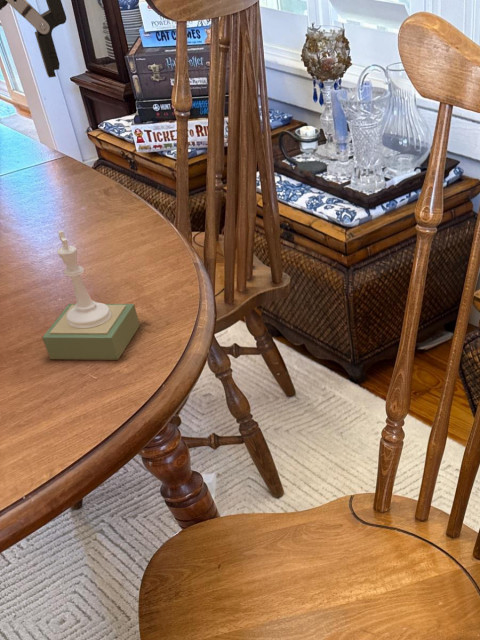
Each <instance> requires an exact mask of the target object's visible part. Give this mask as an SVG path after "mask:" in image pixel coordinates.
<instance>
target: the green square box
mask: <svg viewBox="0 0 480 640" xmlns="http://www.w3.org/2000/svg"><path fill="white" fill-rule="evenodd" d="M76 304H77V303H68V304H67V306H66V307H65V308H64V310H63V311H62V312H61V313H60V315H58V317H57V319H55V321H54V322H53V323H52V325H50V327H49V328H48V329H47V331H46V332H45V333H44V334H43V336H42V337H41V339H42V341H43V343H44V346H45V348H46V352H47V354H48V356H49V359H50V360H83V361H84V360H90V361H91V360H94V361H96V360H97V361H99V360H101V361H104V360H107V361H119V359H120V358H121V356H122V355H123V353H124V352H125V350H126V349H127V346H128V345H129V344H130V342H131V340H132V339H133V337H134V336H135V334H136V333H137V331H138V329H139V328H140V326H141V323H140V319H139V316H138V312H137V310H136V306H135V304H134V303H104V304H105V305H107V306H108V307H109V309H110V311H111V313H112V315H111V317H110V319H109V320H108V321H106V322H105V323H103V324H101V325H98V326H95V327H91V328H74V327H72V326H70V325H69V324H68V323H67V318H66V315H67V313H68V312H69V310H71V309H72V308H74V307H75V305H76Z"/></svg>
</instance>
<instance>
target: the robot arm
mask: <svg viewBox="0 0 480 640" xmlns="http://www.w3.org/2000/svg"><path fill="white" fill-rule="evenodd" d="M45 2H46V4H47V8H48V10H46V11H45V12H43V13H40V12H38V10H37V9H36V8H34V7H33V6H32V5H31V4H30V2H28V1H27V0H0V11H2V10H3V8H5V7H6V6H7V5H8V4H9V5H10V6H11V7H12V8H13V9H14V10H15V11H16V12H17V13H18V14H19V15H20V16H21V17H23V18H24V19H25V20H26V21H27V22H28V23H29V24H30V25H31V26H32V27H33V28H34V29H35V31H34V35H35V38H36V39H35V40H36V42H37V45H38V46H37V47H38V49H39V52H40V56H41V59H42V63H43V66H44V69H45V72H46V75H47V77H48V78H55V77H57V75H56V71H58V70H60V61H59V57H58V53H57V50H56V46H55V42H54V39H53V34H52V33H53V30H54V29H55V28H57V27H59V26H61V25H64V24H65V23H66V22H67V15H66V12H65V9H64V5H63V3H62V0H45Z"/></svg>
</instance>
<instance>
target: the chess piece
mask: <svg viewBox="0 0 480 640" xmlns="http://www.w3.org/2000/svg"><path fill="white" fill-rule="evenodd" d="M57 233H58V238H59V240H60V242H61V244H62V246H61V247H59V248H58V249H57V251H56V253H57V255H58V256H59V258H60V259H61V260H62V262H63V263H64V265H66V268H65V269H64V270H63V274H64V276H66V277H70V279H71V283H72V287H73V291H74V296H75V301H76V303H75V304H76V305H75V307H74V308H72V309H71V310H69V312H68V313H67V315H66V318H67V323H68V324H69V325H70V326H72V327H74V328H91V327H95V326H98V325H101V324H103V323H105V322H106V321H108V320H109V319H110V317H111V315H112V313H111V311H110V309H109V307H108V306H107V305H105V304H106V303H102V302H98V301H95V300H94V299H92V298H91V296H90V293H89V292H88V290H87V288H86V285H85V283H84V281H83V279H82V276H81V275H82V274H83V273H84V272H85V269H84V268H83V266H82V265H78V249H77V247H76V246H73V245H69V242H68V239H67V238H66V236H65V233H64V230H59V231H57Z"/></svg>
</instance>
